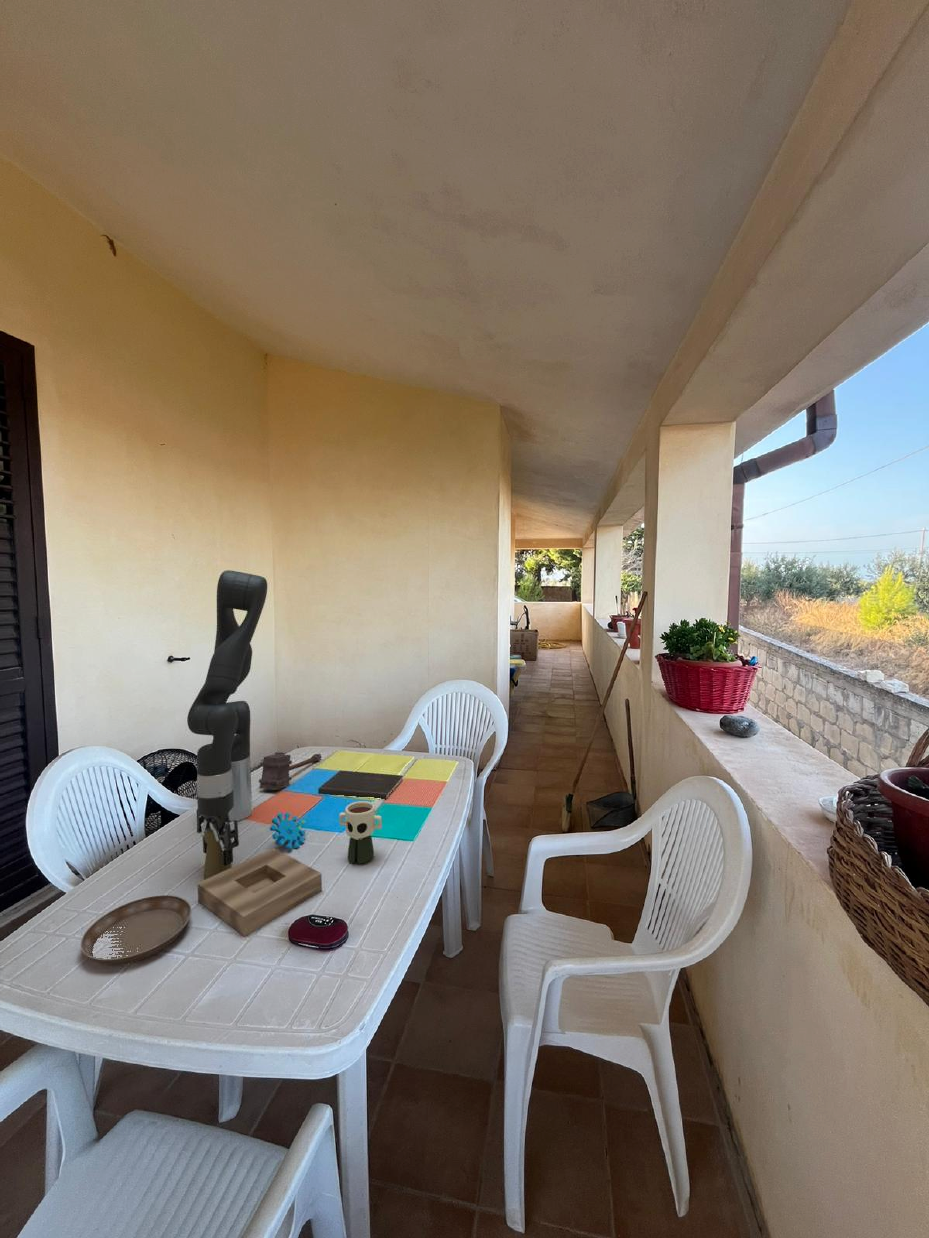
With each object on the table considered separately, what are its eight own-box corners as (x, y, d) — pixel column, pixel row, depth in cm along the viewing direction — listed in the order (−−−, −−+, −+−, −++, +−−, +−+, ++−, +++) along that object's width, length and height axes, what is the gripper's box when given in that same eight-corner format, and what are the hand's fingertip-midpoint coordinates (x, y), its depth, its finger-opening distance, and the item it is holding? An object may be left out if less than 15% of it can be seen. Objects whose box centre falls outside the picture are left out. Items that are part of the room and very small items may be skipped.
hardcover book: (340, 776, 178) (340, 770, 178) (402, 781, 174) (402, 775, 174) (318, 795, 163) (317, 788, 163) (386, 801, 158) (386, 794, 158)
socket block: (198, 901, 108) (197, 883, 108) (274, 863, 122) (273, 847, 122) (244, 936, 97) (243, 916, 97) (321, 890, 112) (321, 873, 111)
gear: (285, 851, 125) (266, 816, 128) (271, 865, 126) (252, 830, 130) (316, 837, 135) (298, 805, 138) (303, 850, 136) (285, 818, 140)
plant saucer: (143, 980, 87) (142, 963, 87) (55, 966, 90) (54, 950, 90) (211, 914, 104) (211, 899, 104) (136, 904, 107) (135, 890, 107)
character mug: (333, 864, 122) (332, 811, 121) (346, 848, 129) (345, 799, 128) (376, 869, 120) (376, 815, 119) (387, 853, 127) (386, 802, 126)
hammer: (257, 788, 163) (260, 756, 164) (310, 772, 195) (312, 745, 196) (275, 790, 162) (278, 758, 163) (326, 773, 193) (328, 746, 194)
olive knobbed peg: (210, 866, 121) (208, 821, 120) (236, 865, 122) (234, 820, 121) (199, 881, 115) (197, 834, 114) (226, 879, 116) (225, 833, 115)
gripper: (183, 787, 118) (186, 855, 119) (215, 803, 110) (218, 875, 111) (215, 777, 124) (218, 842, 125) (247, 791, 116) (250, 860, 117)
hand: (218, 857), depth 118 cm, fingers open, 8 cm apart
